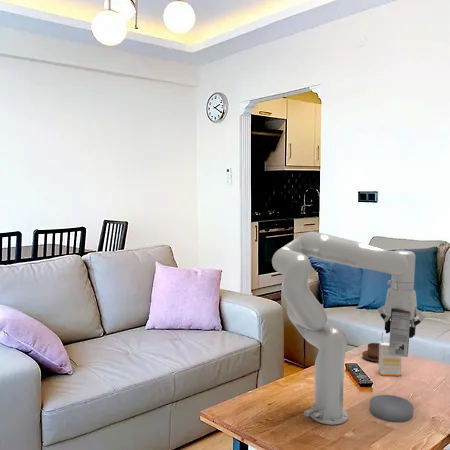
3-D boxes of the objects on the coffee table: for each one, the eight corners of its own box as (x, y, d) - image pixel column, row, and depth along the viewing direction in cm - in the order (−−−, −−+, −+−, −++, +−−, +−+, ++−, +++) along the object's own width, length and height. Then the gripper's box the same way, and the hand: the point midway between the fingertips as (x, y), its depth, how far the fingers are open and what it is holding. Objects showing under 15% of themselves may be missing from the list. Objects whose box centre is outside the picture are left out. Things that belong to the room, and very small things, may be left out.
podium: (395, 426, 159) (395, 417, 159) (361, 409, 171) (361, 401, 170) (421, 414, 167) (421, 406, 167) (387, 399, 179) (387, 391, 178)
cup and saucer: (371, 352, 229) (372, 339, 228) (395, 359, 219) (395, 346, 219) (356, 358, 221) (357, 345, 220) (380, 366, 212) (380, 352, 211)
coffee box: (389, 347, 179) (392, 303, 178) (408, 349, 177) (411, 305, 176) (388, 354, 171) (390, 309, 170) (407, 357, 169) (410, 311, 167)
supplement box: (398, 371, 205) (399, 341, 203) (401, 376, 200) (402, 345, 199) (377, 371, 205) (378, 340, 204) (380, 375, 201) (381, 344, 200)
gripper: (374, 283, 174) (371, 332, 176) (425, 291, 164) (421, 342, 165) (381, 280, 180) (379, 327, 182) (431, 287, 170) (428, 337, 171)
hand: (399, 334), depth 173 cm, fingers closed on coffee box, 7 cm apart
